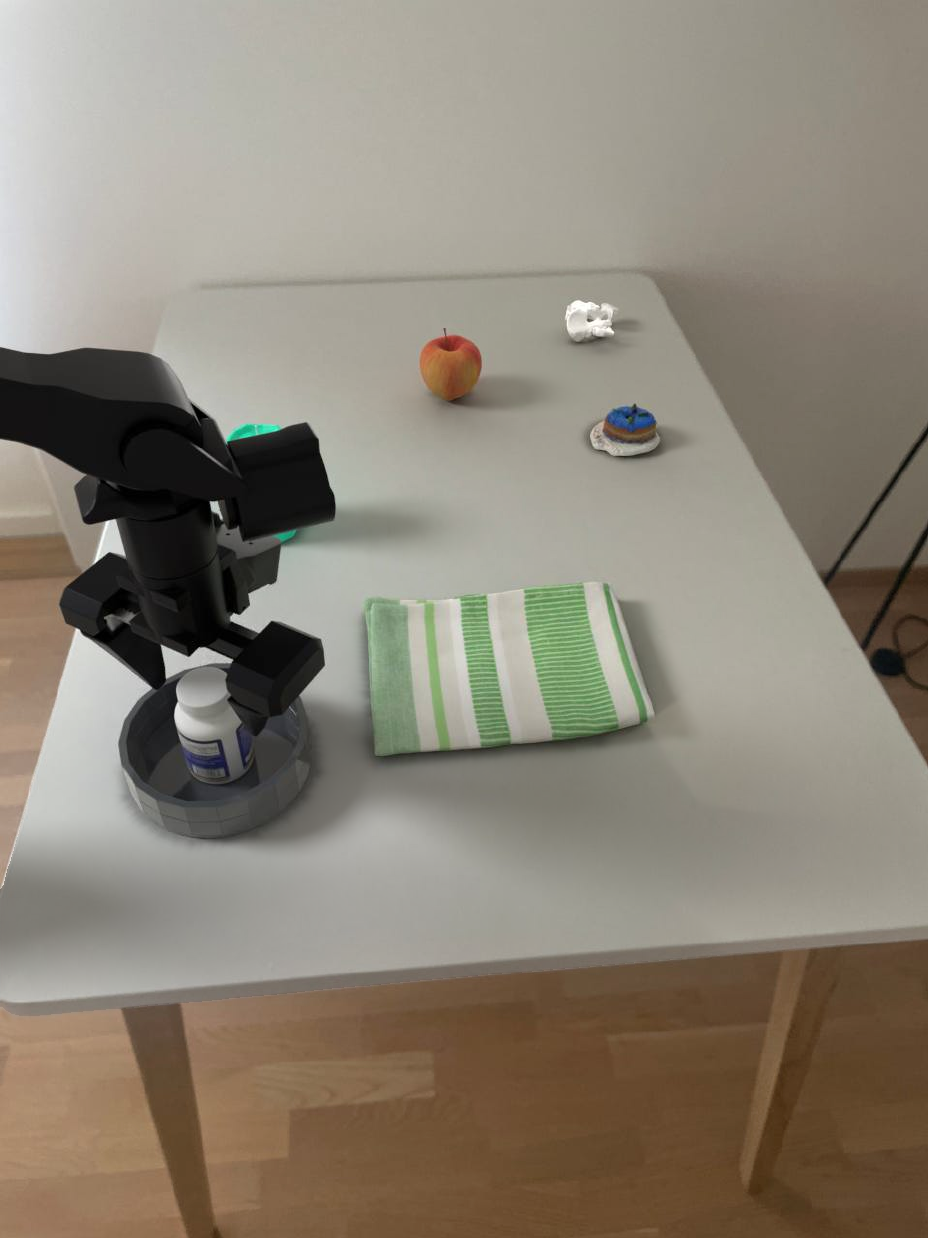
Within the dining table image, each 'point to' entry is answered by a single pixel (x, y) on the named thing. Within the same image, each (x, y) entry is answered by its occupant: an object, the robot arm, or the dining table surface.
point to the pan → (201, 806)
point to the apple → (450, 366)
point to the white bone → (584, 311)
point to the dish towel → (501, 669)
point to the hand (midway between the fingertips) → (208, 708)
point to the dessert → (626, 432)
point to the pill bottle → (211, 728)
